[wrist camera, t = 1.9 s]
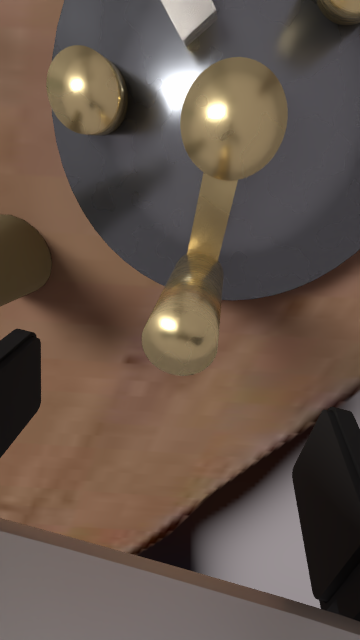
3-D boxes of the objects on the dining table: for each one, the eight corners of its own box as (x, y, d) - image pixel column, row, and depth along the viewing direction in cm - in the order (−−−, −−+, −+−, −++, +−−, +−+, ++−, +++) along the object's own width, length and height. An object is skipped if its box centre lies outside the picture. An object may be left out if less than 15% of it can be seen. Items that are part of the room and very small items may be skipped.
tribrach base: (71, -172, 15) (24, -265, 12) (525, -93, 14) (616, -169, 11) (64, 254, 24) (37, 271, 21) (334, 316, 24) (351, 344, 20)
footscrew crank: (195, 56, 16) (156, -36, 8) (296, 77, 16) (361, 3, 8) (158, 281, 22) (114, 360, 14) (232, 298, 22) (232, 388, 14)
